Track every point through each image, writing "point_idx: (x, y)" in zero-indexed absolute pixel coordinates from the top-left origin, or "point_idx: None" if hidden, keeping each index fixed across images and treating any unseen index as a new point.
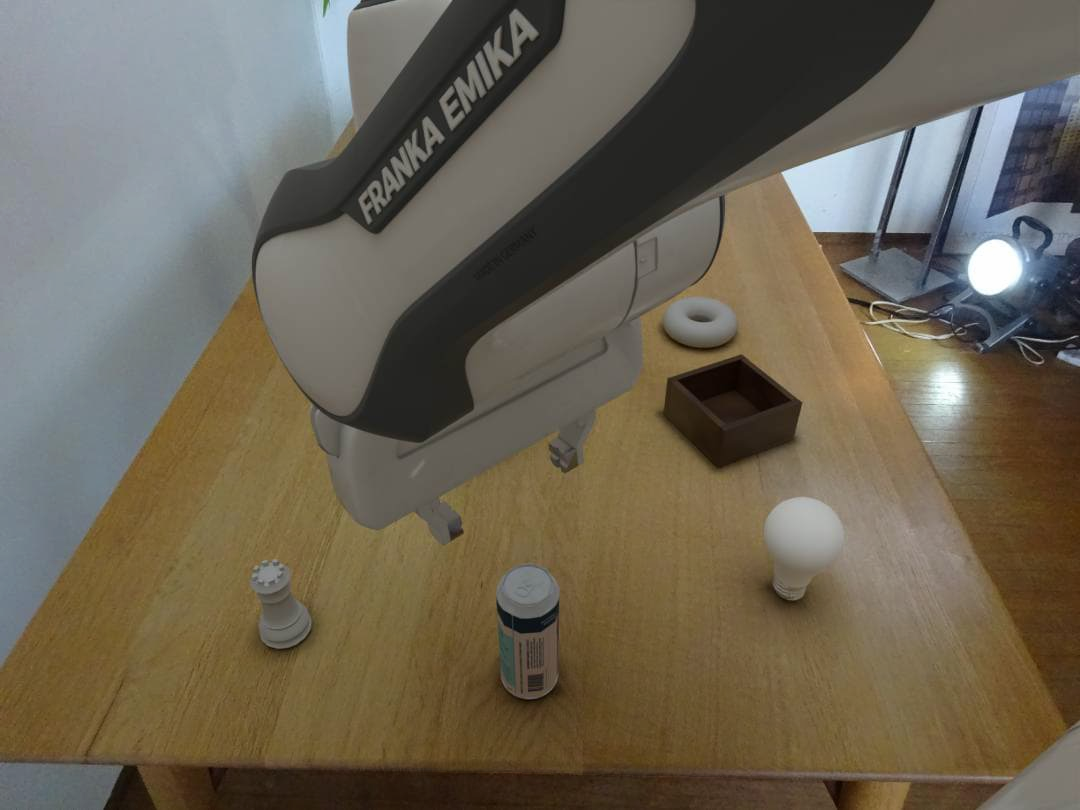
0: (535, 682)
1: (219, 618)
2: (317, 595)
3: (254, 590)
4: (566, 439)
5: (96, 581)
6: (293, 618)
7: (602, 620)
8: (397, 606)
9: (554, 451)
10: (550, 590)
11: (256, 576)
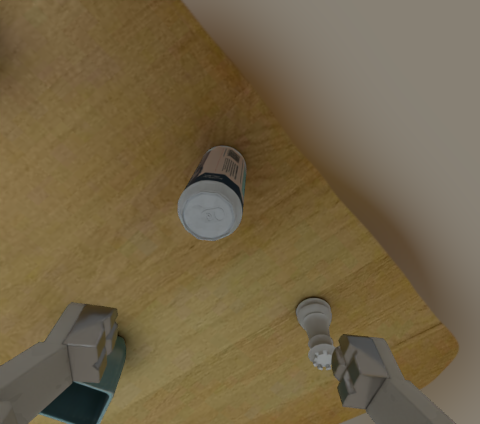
0: (234, 156)
1: (333, 341)
2: (280, 315)
3: None
4: (64, 371)
5: None
6: (315, 315)
7: (142, 158)
8: (249, 274)
9: (103, 359)
10: (195, 195)
11: None
